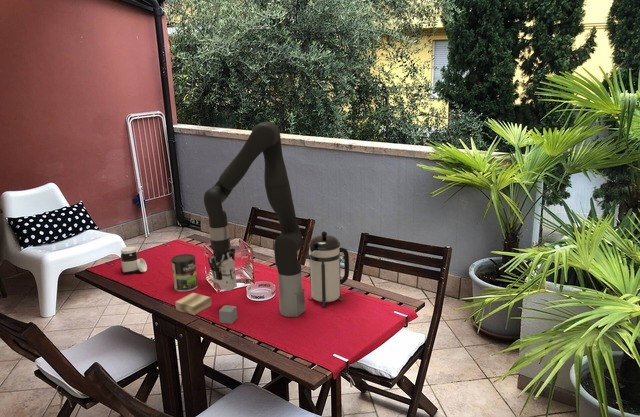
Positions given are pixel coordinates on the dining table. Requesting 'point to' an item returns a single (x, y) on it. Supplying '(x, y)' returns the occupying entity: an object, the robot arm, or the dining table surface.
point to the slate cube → (228, 314)
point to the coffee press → (326, 268)
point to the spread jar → (132, 261)
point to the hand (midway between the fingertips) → (224, 277)
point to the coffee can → (184, 272)
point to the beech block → (193, 303)
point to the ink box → (226, 276)
